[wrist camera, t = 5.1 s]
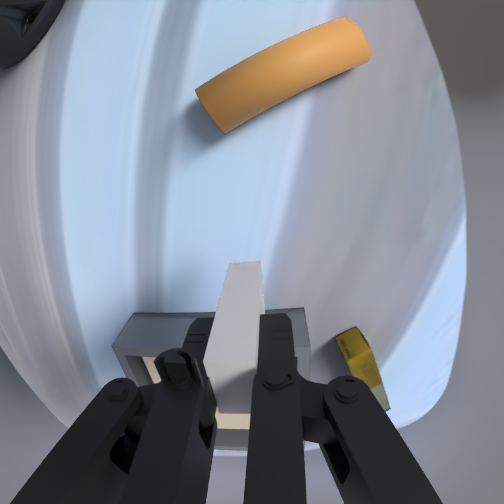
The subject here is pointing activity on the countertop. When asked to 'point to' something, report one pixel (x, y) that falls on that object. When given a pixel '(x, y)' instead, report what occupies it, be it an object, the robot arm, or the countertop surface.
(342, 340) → the medication box
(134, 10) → the countertop surface
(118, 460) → the robot arm
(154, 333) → the box
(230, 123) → the peg
